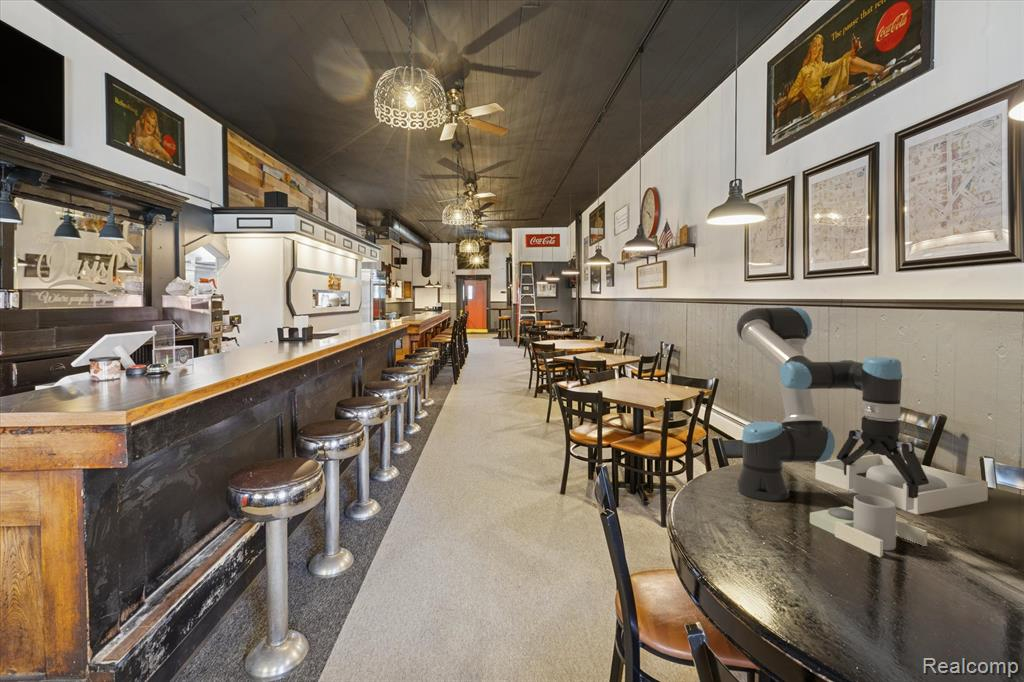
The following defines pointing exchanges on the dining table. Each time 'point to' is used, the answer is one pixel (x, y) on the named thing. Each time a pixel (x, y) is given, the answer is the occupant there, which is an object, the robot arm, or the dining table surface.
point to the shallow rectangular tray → (955, 494)
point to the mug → (876, 518)
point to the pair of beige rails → (842, 527)
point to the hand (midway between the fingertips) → (877, 498)
